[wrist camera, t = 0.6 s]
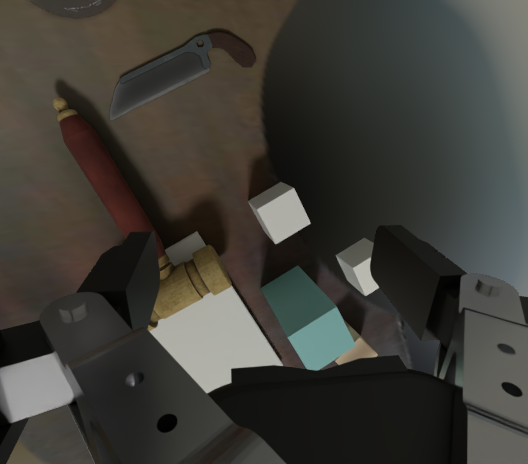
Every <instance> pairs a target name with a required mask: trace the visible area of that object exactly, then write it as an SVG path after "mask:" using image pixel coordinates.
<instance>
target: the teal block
mask: <svg viewBox="0 0 528 464" xmlns="http://www.w3.org/2000/svg"><path fill="white" fill-rule="evenodd" d="M261 290H262V292H263V294H264V296H265V297H266V299H267V301H268V303H269V305H270V306H271V308H272V310H273V312H274V314H275V315H276V317H277V319H278V321H279V323H280V324H281V326H282V328H283V330H284V332H285V333H286V335H287V337H288V339H289V340H290V342H291V344H292V345H293V347H294V348H295V350H296V352H297V353H298V355H299V357H300V358H301V360H302V362H303V363H304V365H305V367H306V368H307V369H308V370H317V371H318V370H319V369H321V368H322V367H324V366H326V365H327V364H329V363H330V362H332V361H333V360H335V359H336V358H338V357H340V356H341V355H343V354H344V353H346V352H347V351H349V350H350V349H352V348H353V347H355V346H356V344H355V342H354V340H353V338H352V336H351V334H350V332H349V330H348V328H347V326H346V324H345V322H344V320H343V318H342V316H341V314H340V312H339V310H338V308H337V307H336V305H335V304H334V303H333V302H332V301H331V300H330V299H329V298H328V297H327V296H326V295H325V294H324V293H323V292H322V290H321V289H320V288H319V287H318V286H317V285H316V284H315V283H314V282H313V281H312V280H311V279H310V278H309V276H308V275H307V274H306V273H305V272H304V271H303V270H302V269H301V268H300V267H299V266H296V267H294V268H293V269H291V270H289V271H288V272H286V273H284V274H283V275H281V276H280V277H278V278H276V279H275V280H273V281H271V282H270V283H268V284H266V285H265V286H263V287H262V288H261Z"/></svg>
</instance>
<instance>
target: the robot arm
mask: <svg viewBox="0 0 528 464" xmlns="http://www.w3.org/2000/svg"><path fill="white" fill-rule="evenodd" d="M30 1H31V2H32V3H33V4H35V5H37V6H39V7H41V8H42V9H44V10H46V11H48V12H51V13H54V14H57V15H60V16H63V17H71V18H82V17H90V16H93V15H96V14H99V13H101V12H103V11H104V10H106V9H107V8H109V7H110V6H112V4H113V3H114V2H115V1H116V0H30ZM370 272H371V276H372V278H373V280H374V281H375V282H376V284H377V285H378V286H379V287H380V289H381V290H382V291H383V292H384V294H385V295H386V296H387V298H388V299H389V300H390V302H391V303H392V304H393V305H394V307H395V308H396V309H397V311H398V312H399V313H400V314H401V316H402V317H403V318H404V320H405V321H406V322H407V323H408V325H409V326H410V327H411V329H412V330H413V331H414V332H415V334H416V335H417V336H418V338H419V339H420V340H421V341H427V340H440V344H439V347H438V350H437V356H436V364H435V372H434V376H433V375H430V374H427V373H424V372H421V371H416V370H412V369H407V368H406V366H405V365H404V363H403V362H402V360H401V359H400V357H399V356H398V355H395V356H382V357H370V358H359V359H356V360H353V361H350V362H347V363H343V364H340V365H337V366H334V367H331V368H328V369H325V370H320V371H317V370H308V369H300V368H293V367H285V366H277V365H270V366H257V367H244V368H232V369H231V383H229V384H226V385H223V386H221V387H219V388H216V389H214V390H212V391H210V392H209V393H206V392H205V391H204V390H203V389H202V388H201V387H200V386H199V385H198V383H197V382H196V381H195V380H194V379H193V378H192V377H191V376H190V375H189V374H188V373H187V372H186V371H185V369H184V368H183V367H182V366H181V365H180V364H179V363H178V362H177V361H176V360H175V359H174V358H173V357H172V355H171V354H170V353H169V352H168V351H167V350H166V349H165V348H164V347H163V346H162V345H161V344H160V342H159V341H158V340H157V339H156V338H155V337H154V336H153V335H152V334H151V333H150V332H149V331H148V330H147V329H148V326H149V323H150V319H151V316H152V312H153V309H154V305H155V302H156V298H157V295H158V291H159V287H160V268H159V260H158V252H157V244H156V237H155V233H154V232H153V231H145V232H130V233H129V235H128V236H127V238H126V240H125V241H124V243H123V245H122V246H114V247H112V248H111V249H109V250H108V251H106V252H105V253H103V254H102V255H101V257H100V258H99V260H98V261H97V263H96V265H95V266H94V267H93V269H92V270H91V272H90V273H89V274H88V276H87V277H86V279H85V280H84V282H83V283H82V285H81V286H80V288H79V289H78V291H77V292H76V293H74V294H70V295H67V296H64V297H61V298H59V299H57V300H55V301H53V302H52V303H50V304H49V305H48V306H46V307H45V308H44V309H43V311H42V312H41V314H40V318H39V321H35V322H32V323H28V324H24V325H19V326H15V327H11V328H7V329H3V330H0V464H6V463H7V461H8V459H9V457H10V455H11V453H12V451H13V449H14V447H15V445H16V443H17V441H18V439H19V437H20V435H21V433H22V431H23V429H24V427H25V425H26V423H27V421H28V419H29V417H31V416H34V415H37V414H39V413H42V412H45V411H48V410H51V409H54V408H57V407H60V406H63V405H66V404H67V405H68V408H69V410H70V412H71V414H72V416H73V418H74V420H75V422H76V425H77V427H78V429H79V431H80V433H81V435H82V437H83V439H84V441H85V444H86V446H87V448H88V450H89V452H90V454H91V456H92V458H93V461H94V463H95V464H528V297H522V296H519V294H518V292H517V290H516V289H515V288H514V287H513V286H511V285H510V284H508V283H506V282H505V281H503V280H500V279H498V278H495V277H492V276H489V275H484V274H477V273H470V274H467V273H466V272H465V271H463V270H462V269H461V268H460V267H458V266H457V265H456V264H454V263H453V262H452V261H450V260H449V259H448V258H445V256H444V255H443V254H442V253H440V252H438V251H437V250H436V249H435V248H434V247H432V246H431V245H430V244H429V243H427V242H424V241H422V240H420V239H418V238H417V237H416V236H414V235H413V234H412V233H410V232H409V231H408V230H407V229H406V228H404V227H403V226H401V225H381V226H379V227H378V228H377V230H376V234H375V240H374V245H373V250H372V256H371V261H370Z"/></svg>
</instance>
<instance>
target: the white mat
mask: <svg viewBox="0 0 528 464" xmlns="http://www.w3.org/2000/svg"><path fill="white" fill-rule="evenodd" d="M205 246H206V245H205V243H204V241H203V240H202V238H201V237H200V235H199V234H198V232H197V231H196V232H194V233H193V234H191V235H189V236H188V237H186V238H184V239H182V240H181V241H179V242H177V243H176V244H174V245H172V246H170V247H169V248H167V249H165V252H166V254H167V255H168V257H169V259H170V261H169V262H172V263H173V265H174V266H176V265H178V264H180V263H182V262H187V261H189V260H191V259H193V256H192V253H194V252H196V251H198V250H200V249H201V248H203V247H205ZM149 332H150V333H151V334H152V335H153V336H154V337H155V338H156V339H157V340H158V341H159V342H160V344H161V345H162V346H163V347H164V348H165V349H166V350H167V351H168V352H169V353H170V354H171V355H172V357H173V358H174V359H175V360H176V361H177V362H178V363H179V364H180V365H181V366H182V367H183V368H184V369H185V371H186V372H187V373H188V374H189V375H190V376H191V377H192V378H193V379H194V380H195V381H196V382H197V383H198V385H199V386H200V387H201V388H202V389H203V390H204V391H205V392H206V393H209V392H210V391H212V390H214V389H216V388H219V387H221V386H223V385H226V384H229V383H231V369H232V368H244V367H257V366H270V365H277V366H283V364H282V362H281V361H280V359H279V358H278V356H277V355H276V353H275V351H274V350H273V348H272V347H271V345H270V344H269V342H268V341H267V339H266V337H265V336H264V334H263V333H262V331H261V330H260V328H259V327H258V325H257V324H256V322H255V320H254V319H253V317H252V316H251V314H250V313H249V311H248V310H247V308H246V307H245V305H244V303H243V302H242V300H241V299H240V297H239V296H238V294H237V293H236V291H235V289H234V288H233V286H232V285H231V287H230V288H228V289H226V290H224V291H222V292H221V293H219V294H217V295H215V296H214V295H213V294H212V293H211V292H210V293H208V294H206V295H205V296H203V299H201V300H199V301H197V302H195V303H193V304H192V305H190V306H188V307H186V308H184V309H182V310H181V311H179V312H177V313H175V314H173V315H171V316H169V317H168V318H166V319H160V320H159V321H158V326H157V327H156V328H154V329H153V330H151V331H149Z"/></svg>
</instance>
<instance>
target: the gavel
mask: <svg viewBox="0 0 528 464" xmlns="http://www.w3.org/2000/svg"><path fill="white" fill-rule="evenodd" d="M53 106H54V108H55V109H56V110H58V111H59V114H58V115H57V119H58V121H59V123H60V127H61V131H62V135H63V139H64V143H65V144H66V146H67V147H68V149H69V150H70V152H71V154H72V155H73V157H74V158H75V160H76V161H77V163H78V165H79V166H80V168H81V169H82V171H83V172H84V174H85V176H86V177H87V179H88V180H89V182H90V183H91V185H92V187H93V188H94V190H95V191H96V193H97V195H98V196H99V198H100V199H101V201H102V202H103V204H104V206H105V207H106V209H107V210H108V212H109V213H110V215H111V217H112V218H113V220H114V221H115V223H116V224H117V226H118V228H119V229H120V231H121V232H122V234H123V235H124V237H125V239H126V238H127V236H128V235H129V233H130V232H145V231H153V232H154V233H155V237H156V244H157V252H158V260H159V268H160V287H159V291H158V295H157V298H156V302H155V305H154V309H153V312H152V316H151V319H150V323H149V326H148V329H147V330H148V331H151V330H153V329H154V328H156V327H157V326H158V321H159V320H160V319H166V318H168V317H169V316H171V315H173V314H175V313H177V312H179V311H181V310H182V309H184V308H186V307H188V306H190V305H192V304H193V303H195V302H197V301H199V300H201V299H203V296H205V295H206V294H208V293H210V292H211V293H212V294H213V295H214V296H215V295H217V294H219V293H221V292H222V291H224V290H226V289H228V288H230V287H231V284H232V282H231V280H230V277H229V275H228V273H227V271H226V269H225V267H224V265H223V263H222V262H221V260H220V258H219V256H218V254H217V253H216V251H215V249H214V248H213V247H212V246H211V245H207V246H205V247H203V248H201V249H200V250H198V251H196V252H194V253H192V256H193V259H191V260H189V261H187V262H182V263H180V264H178V265H176V266H174V265H173V263H172V262H169V261H170V259H169V257H168V255H167V254H166V252H165V249H164V246H163V244H162V241H161V239H160V237H159V236H158V234H157V232H156V231H155V229H154V227H153V226H152V224H151V222H150V221H149V219H148V217H147V216H146V214H145V212H144V211H143V209H142V207H141V206H140V204H139V202H138V201H137V199H136V197H135V196H134V194H133V192H132V191H131V189H130V188H129V186H128V184H127V183H126V181H125V179H124V178H123V176H122V174H121V173H120V171H119V169H118V168H117V166H116V164H115V163H114V161H113V159H112V158H111V156H110V154H109V153H108V151H107V149H106V148H105V146H104V144H103V143H102V141H101V139H100V138H99V136H98V134H97V133H96V131H95V129H94V128H92V127H91V126H90V125H89V124H88V123H87V122H86V121H85V120H84V119H83V118H82V117H80V116H79V115H78V113H77V111H75V110H73V109H69V108H68V104H67V102H66V101H65V100H64V99H63V98H56V99H54V100H53Z"/></svg>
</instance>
